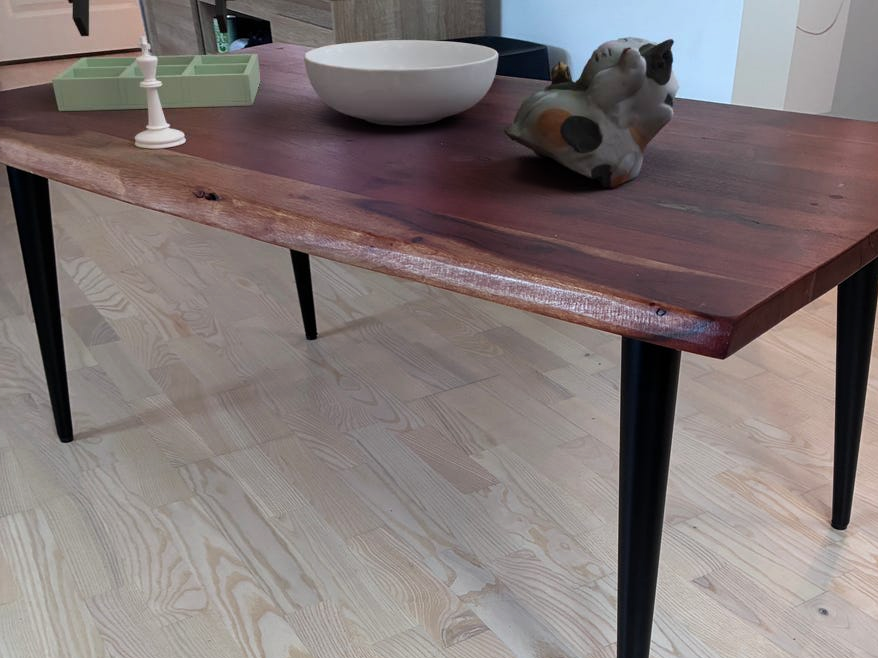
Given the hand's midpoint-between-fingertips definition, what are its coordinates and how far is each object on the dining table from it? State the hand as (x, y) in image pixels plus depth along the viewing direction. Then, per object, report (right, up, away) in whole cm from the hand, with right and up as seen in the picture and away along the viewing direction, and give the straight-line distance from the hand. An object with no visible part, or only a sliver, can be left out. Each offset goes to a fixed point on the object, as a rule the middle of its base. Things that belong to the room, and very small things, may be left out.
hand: (151, 26), depth 92 cm
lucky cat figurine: (+42, -17, -8) cm, 46 cm away
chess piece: (+1, -12, +1) cm, 12 cm away
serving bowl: (+24, -6, +11) cm, 27 cm away
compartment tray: (-6, 0, +21) cm, 22 cm away
